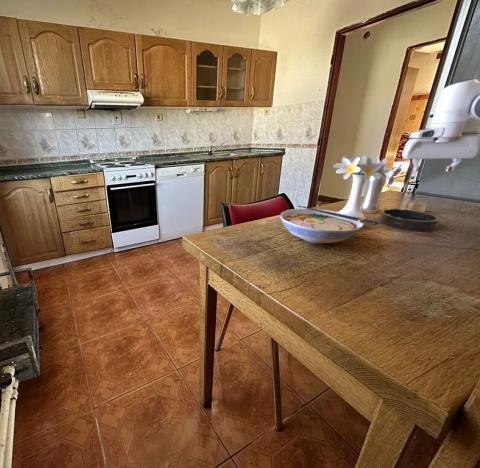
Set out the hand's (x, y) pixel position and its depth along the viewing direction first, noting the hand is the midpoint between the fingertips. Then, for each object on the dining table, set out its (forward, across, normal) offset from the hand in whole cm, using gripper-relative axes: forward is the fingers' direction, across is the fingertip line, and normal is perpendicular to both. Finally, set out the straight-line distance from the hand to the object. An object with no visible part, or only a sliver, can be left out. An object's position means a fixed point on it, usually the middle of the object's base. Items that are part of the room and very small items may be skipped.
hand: (432, 171), depth 97 cm
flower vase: (+17, +28, +24) cm, 41 cm away
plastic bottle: (+17, +17, +1) cm, 25 cm away
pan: (+18, +9, +15) cm, 25 cm away
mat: (+18, +1, -1) cm, 18 cm away
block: (+17, +1, -1) cm, 17 cm away
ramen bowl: (+17, +41, +40) cm, 60 cm away
